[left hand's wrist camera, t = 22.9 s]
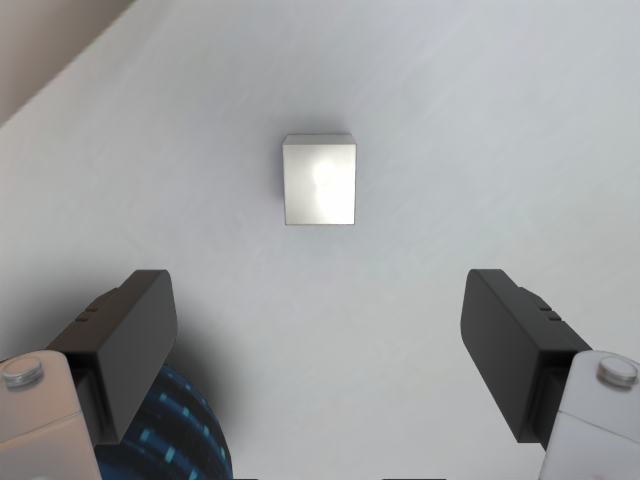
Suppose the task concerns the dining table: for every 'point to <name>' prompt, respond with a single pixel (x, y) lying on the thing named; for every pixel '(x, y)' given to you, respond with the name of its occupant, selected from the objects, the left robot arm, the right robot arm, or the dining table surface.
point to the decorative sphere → (168, 437)
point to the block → (319, 179)
